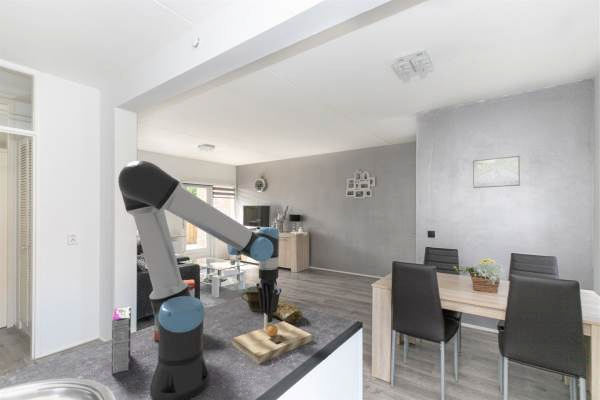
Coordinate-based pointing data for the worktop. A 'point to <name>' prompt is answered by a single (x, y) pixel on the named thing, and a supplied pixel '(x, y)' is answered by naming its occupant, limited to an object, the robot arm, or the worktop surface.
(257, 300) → the ceramic cup
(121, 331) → the candy bar box
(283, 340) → the board
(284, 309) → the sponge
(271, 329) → the ball
